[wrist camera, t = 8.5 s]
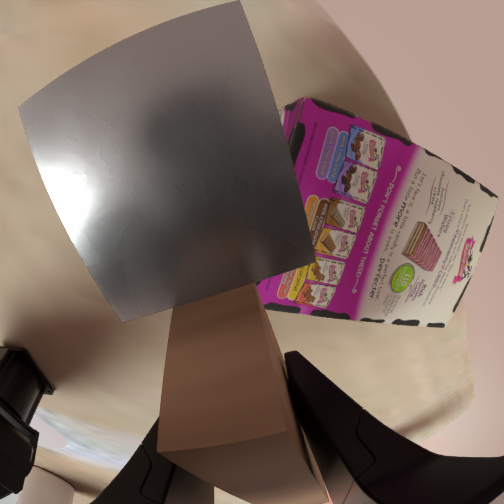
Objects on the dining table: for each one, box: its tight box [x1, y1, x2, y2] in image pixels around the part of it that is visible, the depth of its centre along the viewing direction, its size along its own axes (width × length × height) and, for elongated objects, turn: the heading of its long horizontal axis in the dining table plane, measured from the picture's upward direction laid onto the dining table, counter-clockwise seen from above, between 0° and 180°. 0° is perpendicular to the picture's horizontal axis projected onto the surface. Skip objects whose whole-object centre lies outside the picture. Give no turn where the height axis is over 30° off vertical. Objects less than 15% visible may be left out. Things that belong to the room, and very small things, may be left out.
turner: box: [18, 0, 329, 504], centre depth 7 cm, size 17×6×5 cm, turn 18°
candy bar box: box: [255, 97, 499, 328], centre depth 17 cm, size 11×5×16 cm
